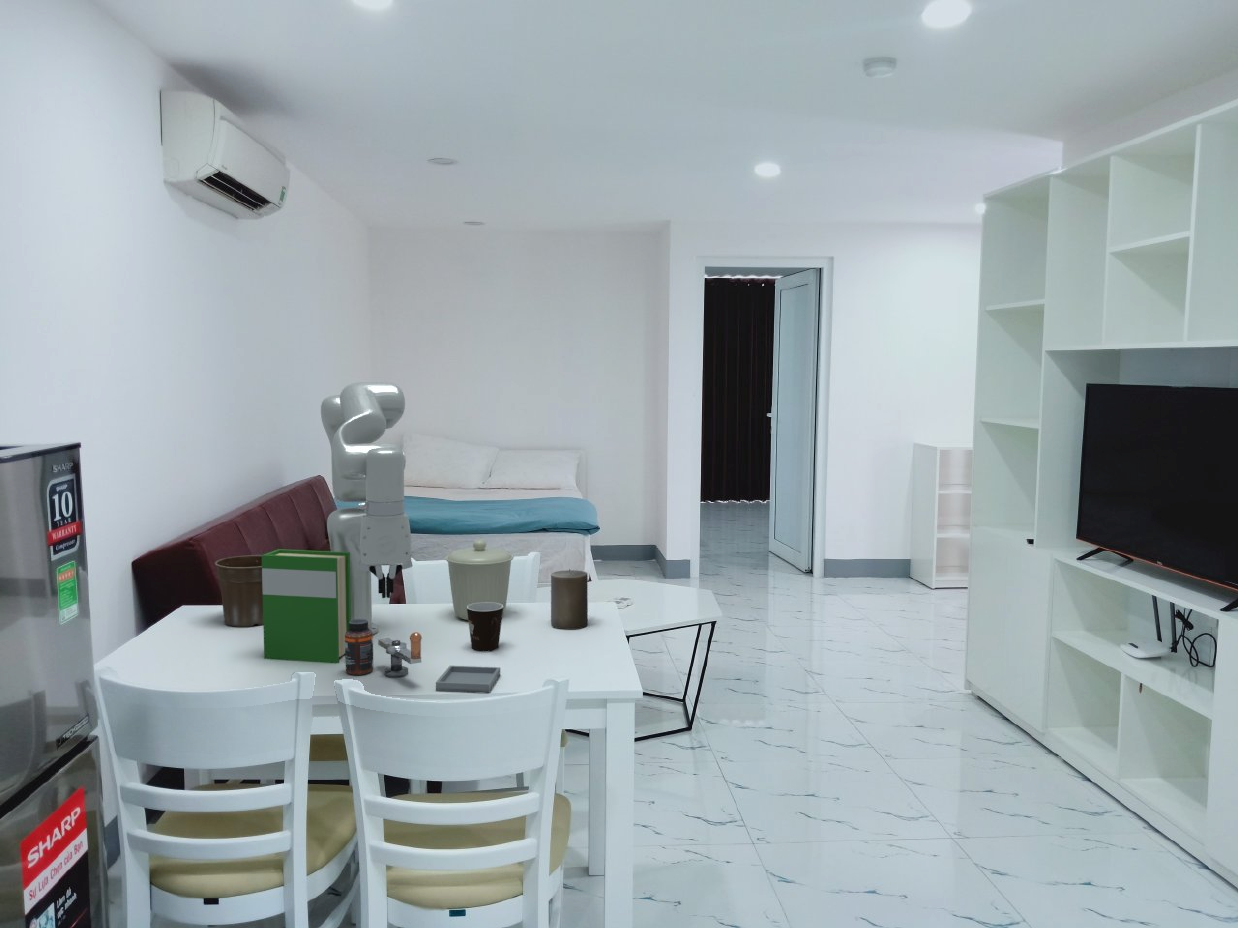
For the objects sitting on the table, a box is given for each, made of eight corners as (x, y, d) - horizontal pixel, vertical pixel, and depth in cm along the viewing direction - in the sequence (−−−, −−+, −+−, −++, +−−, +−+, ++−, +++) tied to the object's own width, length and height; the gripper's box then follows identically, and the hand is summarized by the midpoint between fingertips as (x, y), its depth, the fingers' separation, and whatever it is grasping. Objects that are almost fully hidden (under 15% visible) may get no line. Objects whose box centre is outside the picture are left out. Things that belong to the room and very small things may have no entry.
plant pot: (291, 613, 252) (290, 554, 250) (271, 629, 235) (269, 567, 234) (231, 613, 251) (229, 554, 249) (206, 629, 235) (204, 566, 233)
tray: (435, 690, 192) (435, 682, 192) (449, 673, 203) (449, 665, 203) (489, 692, 191) (489, 684, 191) (500, 675, 202) (500, 667, 202)
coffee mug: (468, 642, 227) (468, 602, 226) (503, 642, 227) (503, 602, 226) (464, 657, 215) (464, 614, 214) (501, 656, 216) (502, 614, 215)
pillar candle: (593, 627, 241) (594, 570, 240) (558, 631, 237) (559, 573, 236) (578, 618, 250) (579, 563, 249) (544, 622, 246) (545, 566, 245)
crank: (373, 645, 206) (373, 616, 206) (392, 642, 209) (392, 613, 208) (408, 666, 192) (408, 635, 191) (428, 662, 195) (428, 632, 194)
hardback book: (351, 653, 217) (349, 552, 214) (337, 663, 209) (335, 558, 207) (280, 649, 219) (278, 549, 217) (264, 658, 212) (261, 555, 210)
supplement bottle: (379, 669, 206) (378, 619, 205) (363, 677, 200) (362, 625, 199) (356, 665, 208) (355, 616, 207) (339, 674, 202) (338, 623, 201)
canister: (515, 608, 260) (516, 533, 258) (510, 625, 242) (510, 546, 240) (450, 608, 259) (450, 533, 257) (440, 625, 241) (440, 545, 239)
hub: (381, 677, 200) (381, 656, 200) (389, 669, 205) (388, 649, 205) (404, 678, 200) (403, 657, 199) (411, 670, 205) (411, 650, 204)
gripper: (346, 512, 184) (347, 603, 186) (423, 510, 188) (424, 599, 190) (347, 506, 191) (348, 593, 193) (421, 504, 195) (421, 590, 197)
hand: (385, 596), depth 192 cm, fingers closed
